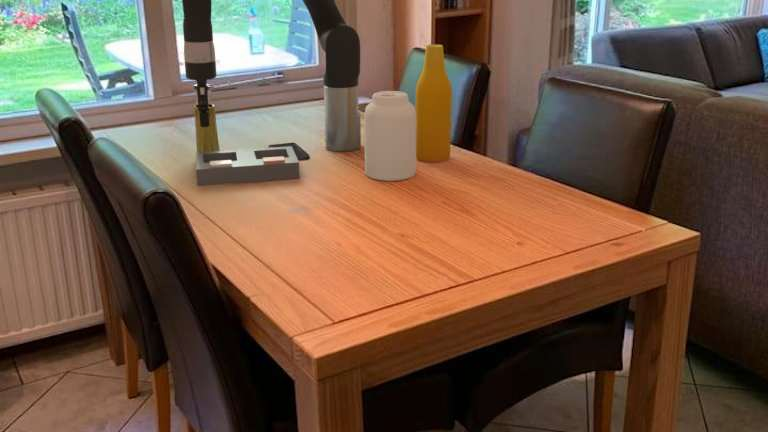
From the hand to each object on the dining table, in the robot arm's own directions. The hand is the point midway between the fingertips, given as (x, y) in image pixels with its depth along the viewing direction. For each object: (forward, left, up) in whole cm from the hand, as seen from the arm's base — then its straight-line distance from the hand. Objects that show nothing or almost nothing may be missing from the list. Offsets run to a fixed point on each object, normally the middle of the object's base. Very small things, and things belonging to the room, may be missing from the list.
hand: (204, 122), depth 197 cm
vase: (0, 0, -10) cm, 10 cm away
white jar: (-43, +24, -10) cm, 50 cm away
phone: (-21, -1, -10) cm, 24 cm away
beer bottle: (-57, +13, -10) cm, 60 cm away
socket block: (-9, +14, -10) cm, 20 cm away
